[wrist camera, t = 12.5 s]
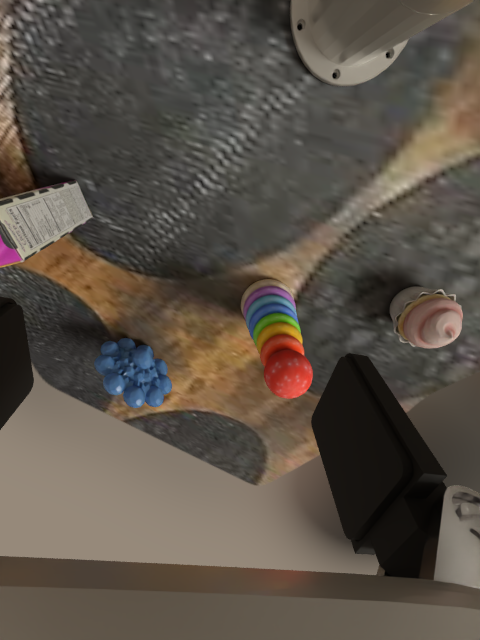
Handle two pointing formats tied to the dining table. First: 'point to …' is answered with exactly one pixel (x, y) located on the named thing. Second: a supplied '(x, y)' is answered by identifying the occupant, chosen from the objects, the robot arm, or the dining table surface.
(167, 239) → the dining table surface
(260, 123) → the dining table surface
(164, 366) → the grapes
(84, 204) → the candy bar box
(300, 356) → the stacking toy
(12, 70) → the dining table surface
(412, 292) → the cupcake
